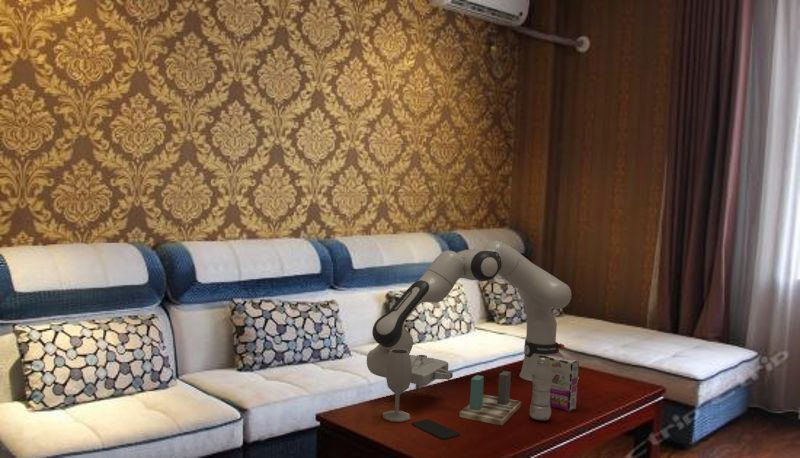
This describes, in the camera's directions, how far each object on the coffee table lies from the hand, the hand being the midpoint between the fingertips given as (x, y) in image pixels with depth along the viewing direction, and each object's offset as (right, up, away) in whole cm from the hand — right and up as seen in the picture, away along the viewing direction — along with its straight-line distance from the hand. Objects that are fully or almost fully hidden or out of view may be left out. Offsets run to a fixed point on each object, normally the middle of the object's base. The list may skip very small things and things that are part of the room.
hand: (451, 376), depth 226 cm
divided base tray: (+13, -11, 0) cm, 17 cm away
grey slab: (+17, -10, +4) cm, 20 cm away
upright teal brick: (+8, -10, -3) cm, 13 cm away
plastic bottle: (+27, -13, -5) cm, 31 cm away
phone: (-6, -13, -18) cm, 23 cm away
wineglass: (-18, -11, -10) cm, 23 cm away
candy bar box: (+36, -12, +9) cm, 39 cm away
